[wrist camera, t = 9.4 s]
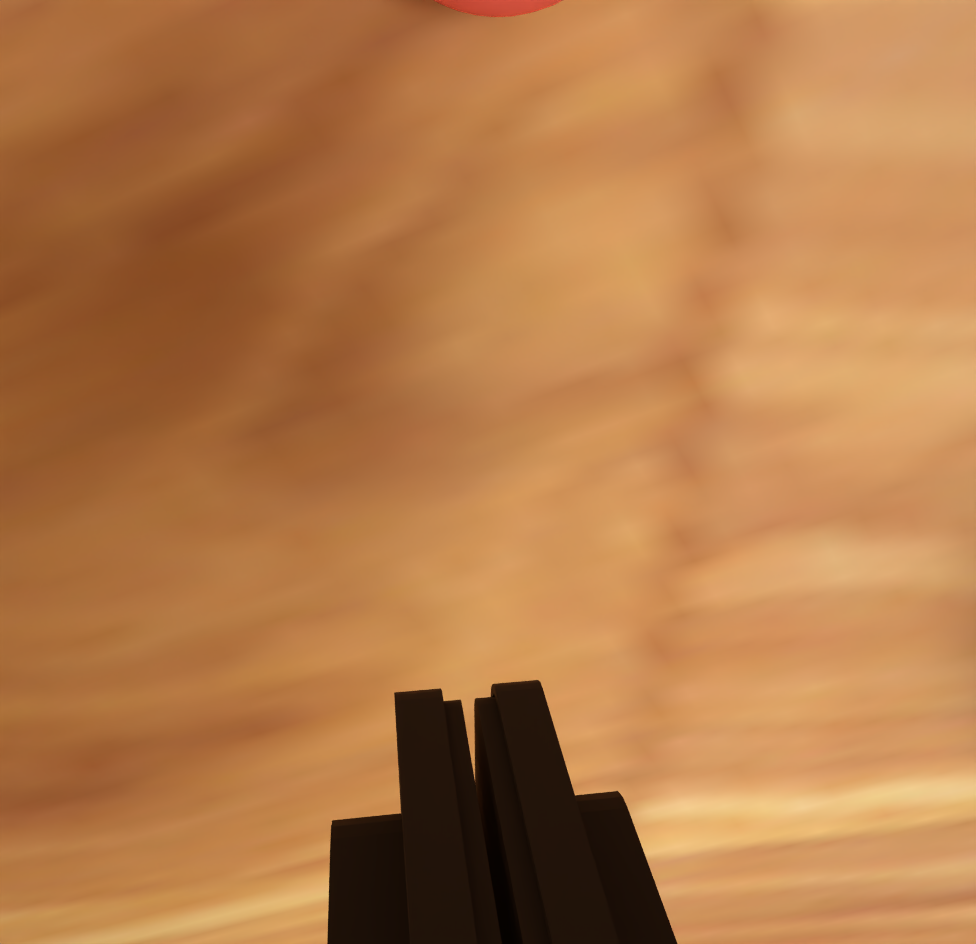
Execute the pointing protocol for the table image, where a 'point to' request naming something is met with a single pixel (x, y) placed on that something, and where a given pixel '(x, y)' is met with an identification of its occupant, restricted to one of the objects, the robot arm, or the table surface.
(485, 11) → the ball
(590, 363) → the table surface
